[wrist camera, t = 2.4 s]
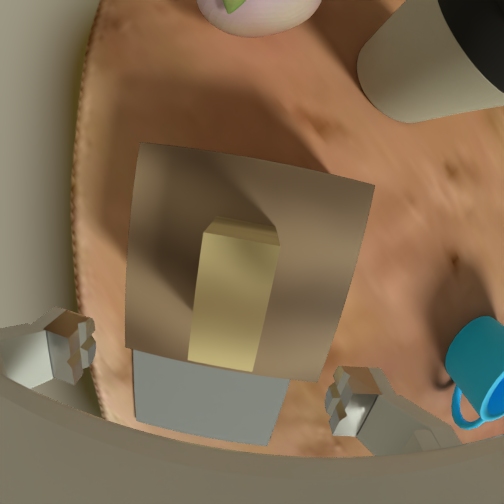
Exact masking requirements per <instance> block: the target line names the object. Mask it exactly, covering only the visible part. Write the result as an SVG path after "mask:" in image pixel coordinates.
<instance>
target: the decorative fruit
mask: <svg viewBox="0 0 504 504" xmlns="http://www.w3.org/2000/svg"><path fill="white" fill-rule="evenodd" d="M196 1H197V4H198V7H199V10H200V11H201V13H202V14H203V16H204V17H205V18H206V19H207V20H208V21H209V22H210V23H211V24H212V25H214V26H215V27H216V28H218V29H220V30H222V31H223V32H226V33H228V34H231V35H235V36H240V37H248V38H254V37H263V36H269V35H274V34H277V33H281V32H284V31H287V30H289V29H292V28H294V27H296V26H298V25H300V24H301V23H303V22H304V21H306V20H307V19H309V18H310V17H311V16H312V15H313V13H314V12H315V11H316V10H317V8H318V7H319V5H320V3H321V1H322V0H196Z"/></svg>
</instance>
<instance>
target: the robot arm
mask: <svg viewBox="0 0 504 504" xmlns="http://www.w3.org/2000/svg"><path fill="white" fill-rule="evenodd" d="M94 331H95V325H94V321H93V319H92V318H90V317H86V316H83V315H80V314H77V313H74V312H71V311H68V310H66V309H62V308H59V307H53V308H52V309H51V310H50V311H48V312H47V313H46V314H44V315H43V316H41V317H40V318H39V319H38V320H36V321H35V322H33V323H32V324H31V325H30V324H21V325H16V326H10V327H5V328H0V504H504V434H503V435H499V436H495V437H492V438H488V439H484V440H480V441H476V442H471V443H467V444H462V442H461V441H460V439H459V438H458V436H457V435H456V433H455V431H454V430H453V428H452V427H451V425H449V424H447V423H445V422H444V421H442V420H440V419H439V418H437V417H435V416H434V415H432V414H430V413H429V412H427V411H426V410H424V409H422V408H421V407H419V406H417V405H416V404H414V403H412V402H411V401H409V400H408V399H406V398H404V397H403V396H401V395H396V393H395V391H394V390H393V388H392V386H391V385H390V383H389V381H388V379H387V378H386V376H385V374H384V373H383V371H382V369H380V368H373V367H349V366H338V367H337V369H336V370H335V373H334V375H333V377H334V380H335V382H334V383H333V384H332V385H330V386H329V388H328V391H327V393H326V399H325V408H326V412H327V413H328V414H329V415H330V416H331V418H330V420H329V424H330V427H331V431H332V435H336V436H357V438H358V439H359V440H360V441H361V442H362V443H363V444H364V445H365V446H366V447H367V448H368V449H369V450H370V451H371V452H372V453H373V454H374V455H375V456H369V457H298V456H282V455H270V454H259V453H250V452H242V451H235V450H228V449H222V448H215V447H210V446H204V445H199V444H194V443H189V442H184V441H179V440H175V439H171V438H166V437H162V436H158V435H154V434H151V433H147V432H143V431H140V430H136V429H133V428H129V427H126V426H123V425H120V424H117V423H113V422H110V421H107V420H105V419H102V418H98V417H96V416H93V415H90V414H88V413H85V412H82V411H80V410H77V409H75V408H72V407H70V406H67V405H65V404H62V403H60V402H58V401H55V400H53V399H51V398H49V397H46V396H44V395H42V394H40V393H37V392H35V391H33V390H31V388H33V387H35V386H37V385H40V384H42V383H44V382H47V381H49V380H51V379H53V377H54V378H56V379H59V380H62V381H65V382H67V383H70V384H73V385H75V384H76V382H77V381H78V380H79V379H80V377H81V376H82V375H83V368H86V367H89V366H90V364H91V363H92V362H93V359H94V356H95V351H96V342H95V340H94V338H93V337H92V333H93V332H94Z"/></svg>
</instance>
